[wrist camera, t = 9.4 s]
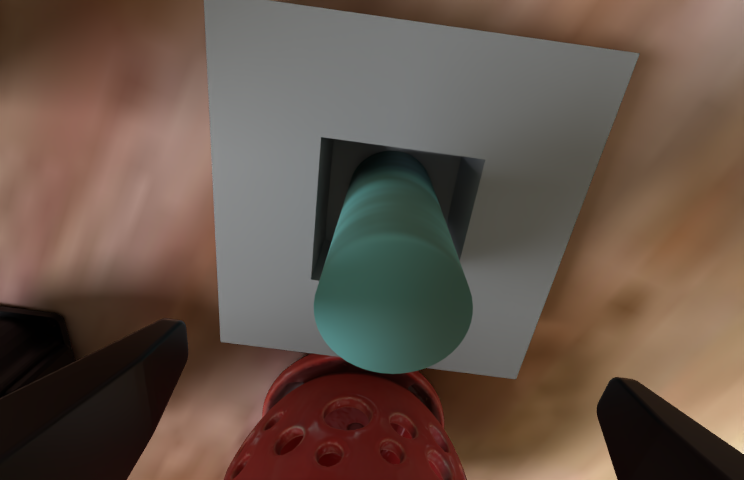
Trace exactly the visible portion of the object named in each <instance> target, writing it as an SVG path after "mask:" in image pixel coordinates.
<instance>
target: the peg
mask: <svg viewBox="0 0 744 480" xmlns="http://www.w3.org/2000/svg"><path fill="white" fill-rule="evenodd" d="M472 315H473V301H472V295H471V292H470V288H469V285H468V283H467V280H466V277H465V274H464V272H463V269H462V266H461V263H460V260H459V258H458V255H457V252H456V249H455V246H454V244H453V241H452V238H451V235H450V233H449V230H448V227H447V224H446V221H445V219H444V216H443V213H442V210H441V207H440V205H439V202H438V199H437V196H436V194H435V191H434V188H433V185H432V182H431V180H430V177H429V175H428V172H427V171H426V169H425V167H424V166H423V165H422V164H421V163H420V162H419V161H418V160H417V159H415V158H414V157H413V156H411V155H409V154H406V153H403V152H399V151H383V152H379V153H376V154H373V155H371V156H369V157H368V158H366V159H365V160H364V161H363V162H361V163H360V165H359V166H358V167H357V168H356V170H355V171H354V173H353V176H352V178H351V181H350V185H349V188H348V191H347V194H346V197H345V201H344V204H343V207H342V210H341V213H340V217H339V220H338V223H337V226H336V229H335V232H334V236H333V239H332V242H331V245H330V248H329V252H328V255H327V258H326V261H325V264H324V268H323V271H322V274H321V277H320V280H319V284H318V287H317V290H316V293H315V298H314V317H315V322H316V325H317V328H318V330H319V332H320V334H321V336H322V338H323V339H324V341H325V342H326V344H327V345H328V346H329V347H330V348H331V349H332V350H333V351H334V352H335V353H336V354H337V355H339V356H340V357H341V358H343V359H344V360H346V361H347V362H349V363H351V364H353V365H355V366H357V367H360V368H362V369H366V370H369V371H373V372H378V373H387V374H401V373H409V372H414V371H418V370H422V369H425V368H427V367H430V366H432V365H434V364H436V363H438V362H440V361H441V360H443V359H444V358H446V357H447V356H448V355H450V354H451V353H452V352H453V351H454V350H455V349H456V348H457V347H458V346H459V345H460V343H461V342H462V341H463V339H464V337H465V336H466V334H467V332H468V330H469V327H470V324H471V320H472Z"/></svg>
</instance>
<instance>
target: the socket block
mask: <svg viewBox="0 0 744 480" xmlns="http://www.w3.org/2000/svg"><path fill="white" fill-rule="evenodd" d="M204 13H205V34H206V54H207V75H208V95H209V115H210V136H211V156H212V177H213V197H214V218H215V238H216V258H217V279H218V299H219V320H220V340H221V342H226V343H233V344H241V345H249V346H257V347H265V348H273V349H281V350H289V351H297V352H304V353H312V354H320V355H328V356H336V357H340V356H339V355H337V354H336V353H335V352H334V351H333V350H332V349H331V348H330V347H329V346H328V345H327V344H326V342H325V341H324V339H323V338H322V336H321V334H320V332H319V330H318V328H317V325H316V322H315V317H314V298H315V293H316V290H317V287H318V284H319V280H320V277H321V274H322V271H323V268H324V264H325V261H326V258H327V255H328V252H329V248H330V245H331V242H332V239H333V236H334V232H335V229H336V226H337V223H338V220H339V217H340V213H341V210H342V207H343V204H344V201H345V197H346V194H347V191H348V188H349V185H350V181H351V178H352V176H353V173H354V171H355V170H356V168H357V167H358V166H359V165H360V163H361V162H363V161H364V160H365V159H366V158H368V157H369V156H371V155H373V154H376V153H379V152H383V151H399V152H403V153H406V154H409V155H411V156H413V157H414V158H415V159H417V160H418V161H419V162H420V163H421V164H422V165H423V166H424V167H425V169H426V171H427V172H428V175H429V177H430V180H431V182H432V185H433V188H434V191H435V194H436V196H437V199H438V202H439V205H440V207H441V210H442V213H443V216H444V219H445V221H446V224H447V227H448V230H449V233H450V235H451V238H452V241H453V244H454V246H455V249H456V252H457V255H458V258H459V260H460V263H461V266H462V269H463V272H464V274H465V277H466V280H467V283H468V285H469V288H470V292H471V295H472V301H473V315H472V320H471V324H470V327H469V330H468V332H467V334H466V336H465V337H464V339H463V341H462V342H461V343H460V345H459V346H458V347H457V348H456V349H455V350H454V351H453V352H452V353H451V354H450V355H448V356H447V357H446V358H444V359H443V360H441V361H440V362H438V363H436V364H434V365H432V366H430V367H427V368H431V369H439V370H447V371H454V372H462V373H470V374H478V375H486V376H494V377H502V378H510V379H516V378H517V375H518V373H519V370H520V367H521V365H522V362H523V359H524V357H525V354H526V352H527V349H528V346H529V344H530V341H531V338H532V336H533V333H534V331H535V328H536V325H537V323H538V320H539V317H540V315H541V312H542V309H543V307H544V304H545V302H546V299H547V296H548V294H549V291H550V288H551V286H552V283H553V281H554V278H555V275H556V273H557V270H558V267H559V265H560V262H561V259H562V257H563V254H564V252H565V249H566V246H567V244H568V241H569V238H570V236H571V233H572V231H573V228H574V225H575V223H576V220H577V217H578V215H579V212H580V209H581V207H582V204H583V202H584V199H585V196H586V194H587V191H588V188H589V186H590V183H591V181H592V178H593V175H594V173H595V170H596V167H597V165H598V162H599V159H600V157H601V154H602V152H603V149H604V146H605V144H606V141H607V138H608V136H609V133H610V131H611V128H612V125H613V123H614V120H615V117H616V115H617V112H618V110H619V107H620V104H621V102H622V99H623V96H624V94H625V91H626V88H627V86H628V83H629V81H630V78H631V75H632V73H633V70H634V67H635V65H636V62H637V60H638V57H639V54H640V53H633V52H626V51H619V50H612V49H605V48H598V47H591V46H584V45H577V44H570V43H563V42H556V41H549V40H543V39H536V38H529V37H522V36H515V35H508V34H501V33H494V32H487V31H480V30H473V29H466V28H459V27H452V26H445V25H438V24H431V23H424V22H417V21H410V20H403V19H396V18H389V17H382V16H375V15H368V14H361V13H354V12H347V11H340V10H333V9H326V8H319V7H312V6H305V5H298V4H291V3H284V2H277V1H270V0H204Z"/></svg>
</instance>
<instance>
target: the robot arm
mask: <svg viewBox="0 0 744 480" xmlns="http://www.w3.org/2000/svg"><path fill="white" fill-rule="evenodd" d="M187 358H188V342H187V331H186V325H185V323H184V322H183V321H181V320H174V319H161V320H159V321H157V322H155V323H153V324H151V325H149V326H147V327H145V328H142V329H140V330H138V331H136V332H134V333H132V334H130V335H128V336H126V337H124V338H122V339H120V340H118V341H116V342H114V343H112V344H110V345H108V346H106V347H104V348H102V349H100V350H98V351H96V352H94V353H92V354H90V355H88V356H86V357H83V358H81V359H79V360H77V361H75V359H74V356H73V352H72V348H71V344H70V340H69V336H68V332H67V328H66V325H65V321H64V319H63V317H62V316H60V315H59V314H56V313H49V312H41V311H33V310H26V309H18V308H10V307H2V306H0V480H127V478H128V476H129V475H130V473H131V471H132V470H133V468H134V466H135V465H136V463H137V461H138V459H139V458H140V456H141V454H142V453H143V451H144V449H145V448H146V446H147V444H148V442H149V440H150V439H151V437H152V435H153V433H154V431H155V429H156V427H157V425H158V423H159V421H160V419H161V417H162V415H163V412H164V410H165V408H166V406H167V404H168V401H169V399H170V397H171V395H172V393H173V390H174V388H175V386H176V384H177V382H178V380H179V377H180V375H181V373H182V371H183V369H184V366H185V364H186V362H187ZM597 417H598V420H599V423H600V426H601V429H602V432H603V436H604V439H605V442H606V445H607V448H608V451H609V454H610V457H611V460H612V464H613V467H614V470H615V473H616V476H617V479H618V480H744V454H742V453H741V452H739V451H738V450H737V449H735V448H734V447H732V446H731V445H729V444H728V443H726V442H725V441H723V440H722V439H721V438H719V437H718V436H716V435H715V434H713V433H712V432H710V431H709V430H707V429H706V428H705V427H703V426H702V425H700V424H699V423H697V422H696V421H694V420H693V419H692V418H690V417H689V416H687V415H686V414H684V413H683V412H681V411H680V410H678V409H677V408H676V407H674V406H673V405H671V404H670V403H668V402H667V401H665V400H664V399H662V398H661V397H660V396H658V395H657V394H655V393H654V392H652V391H651V390H649V389H648V388H647V387H645V386H644V385H642V384H641V383H639V382H638V381H636V380H633V379H628V378H620V377H615V378H612V379H611V380H610V381H609V383H608V385H607V387H606V389H605V391H604V393H603V394H602V396H601V398H600V400H599V402H598V404H597Z"/></svg>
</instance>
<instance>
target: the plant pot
mask: <svg viewBox="0 0 744 480" xmlns="http://www.w3.org/2000/svg"><path fill="white" fill-rule="evenodd" d="M224 480H467V479H466V476H465V473H464V469H463V467H462V464H461V462H460V460H459V457H458V455H457V453H456V451H455V449H454V446H453V445H452V443H451V441H450V439H449V437H448V435H447V434H446V432H445V431H444V414H443V409H442V405H441V402H440V400H439V397H438V395H437V393H436V391H435V390H434V388H433V387H432V385H431V384H430V383H429V381H428V380H427V379H426V378H425V377H424V376H423V375H422V374H421V373H420V372H419V371H414V372H409V373H401V374H387V373H378V372H373V371H369V370H366V369H362V368H360V367H357V366H355V365H353V364H351V363H349V362H347V361H346V360H344V359H343V358H341V357H336V356H328V355H320V354H310V355H308V356H305V357H303V358H301V359H300V360H298V361H296V362H295V363H293V364H292V365H291V366H289V367H288V368H287V369H285V370H284V371H283V372H282V373H281V374H280V375H279V377H278V378H277V379H276V380H275V382H274V383H273V384H272V386H271V388H270V389H269V391H268V394H267V396H266V399H265V402H264V406H263V414H262V419H261V420H260V421H259V423H258V424H257V425H256V426H255V428H254V429H253V430H252V431H251V433H250V434H249V435H248V437H247V438H246V440H245V441H244V443H243V444H242V446H241V447H240V449H239V450H238V452H237V454H236V455H235V457H234V459H233V460H232V462H231V464H230V466H229V467H228V469H227V472H226V474H225V477H224Z"/></svg>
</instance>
